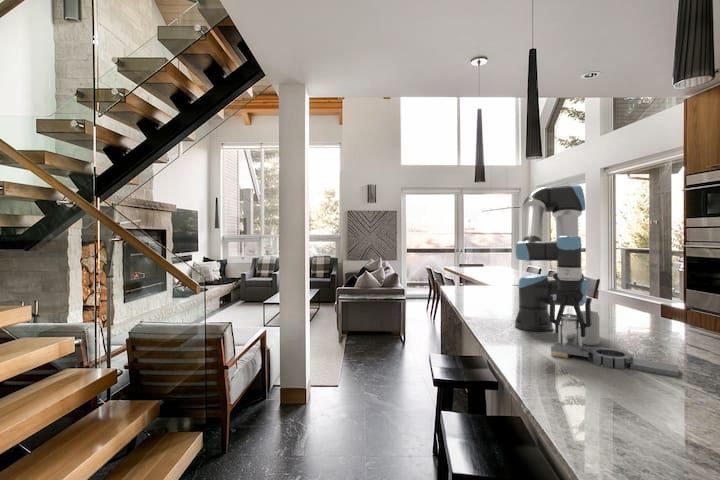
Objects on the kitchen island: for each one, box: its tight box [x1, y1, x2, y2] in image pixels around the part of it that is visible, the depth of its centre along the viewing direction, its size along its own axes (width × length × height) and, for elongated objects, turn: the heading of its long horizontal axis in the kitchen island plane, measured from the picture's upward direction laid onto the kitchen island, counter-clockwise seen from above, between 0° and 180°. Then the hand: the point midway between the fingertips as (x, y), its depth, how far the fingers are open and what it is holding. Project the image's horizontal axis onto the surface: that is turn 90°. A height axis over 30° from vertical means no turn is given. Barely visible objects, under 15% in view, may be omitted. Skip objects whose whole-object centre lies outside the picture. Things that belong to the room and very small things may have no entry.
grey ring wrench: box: [550, 341, 679, 378], centre depth 121 cm, size 33×12×3 cm, turn 50°
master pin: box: [560, 313, 580, 345], centre depth 135 cm, size 6×6×12 cm
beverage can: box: [579, 310, 601, 346], centre depth 142 cm, size 6×6×12 cm
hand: (570, 344), depth 135 cm, fingers closed on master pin, 5 cm apart
